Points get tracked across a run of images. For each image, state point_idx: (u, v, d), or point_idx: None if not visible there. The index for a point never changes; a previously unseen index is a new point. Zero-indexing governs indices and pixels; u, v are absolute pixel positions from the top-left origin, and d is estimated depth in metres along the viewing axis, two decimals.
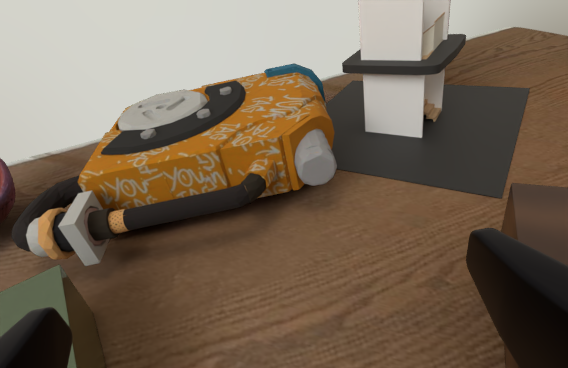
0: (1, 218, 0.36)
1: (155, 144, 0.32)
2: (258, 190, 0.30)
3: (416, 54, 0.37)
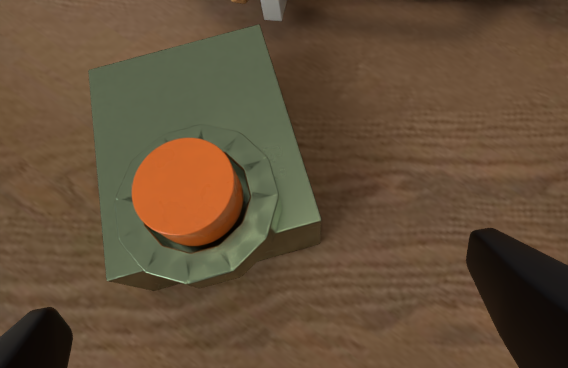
0: None
1: None
2: None
3: None
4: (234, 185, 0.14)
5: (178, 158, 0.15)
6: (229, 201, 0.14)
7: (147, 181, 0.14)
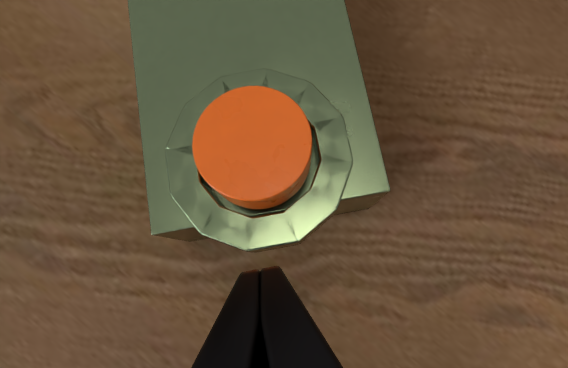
0: None
1: None
2: None
3: None
4: (311, 148, 0.12)
5: (247, 110, 0.13)
6: (305, 167, 0.12)
7: (210, 134, 0.12)
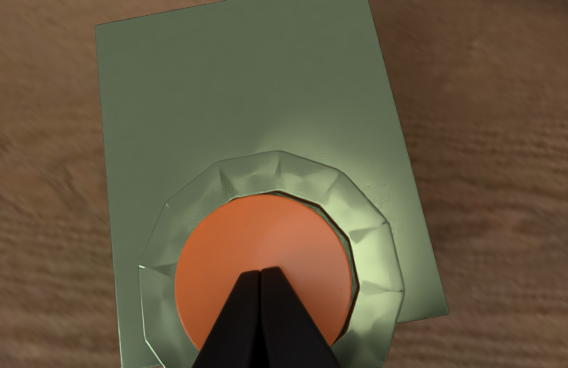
0: None
1: None
2: None
3: None
4: (351, 293, 0.08)
5: (255, 233, 0.09)
6: (343, 324, 0.08)
7: (201, 270, 0.08)
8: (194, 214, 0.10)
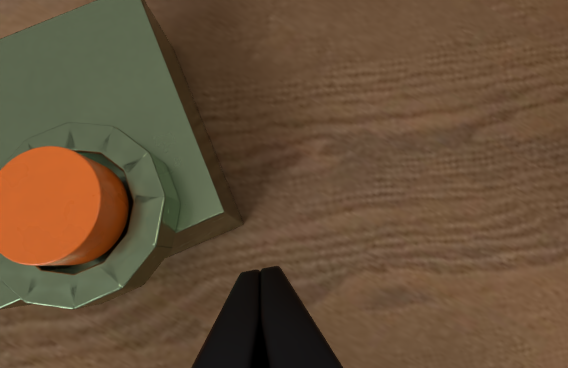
0: None
1: None
2: None
3: None
4: (102, 197, 0.12)
5: (33, 173, 0.12)
6: (98, 217, 0.12)
7: (0, 205, 0.12)
8: None
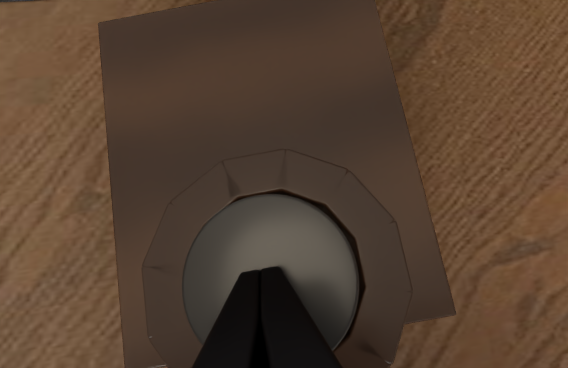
0: None
1: None
2: None
3: None
4: None
5: None
6: None
7: None
8: None
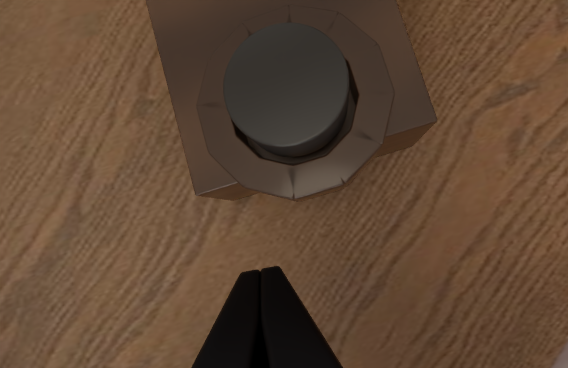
0: None
1: None
2: None
3: None
4: None
5: None
6: None
7: None
8: None
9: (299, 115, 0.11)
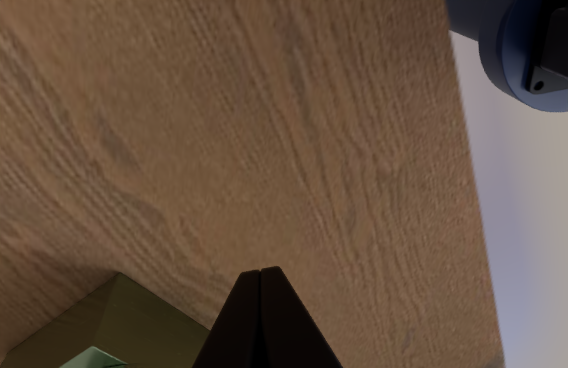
0: None
1: None
2: None
3: None
4: None
5: None
6: None
7: None
8: None
9: None
